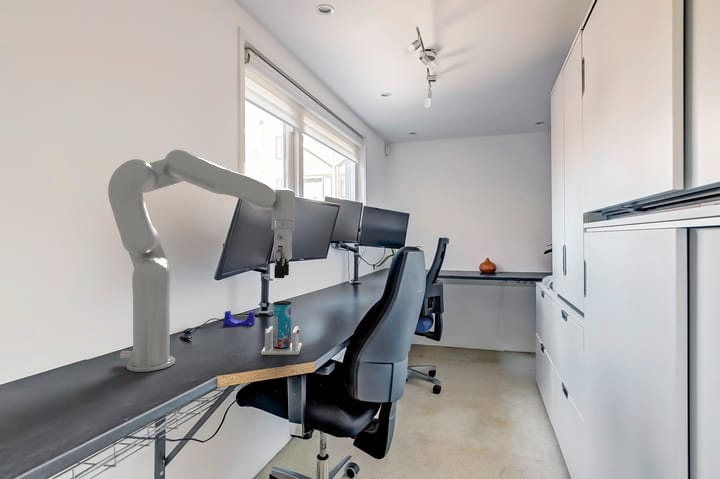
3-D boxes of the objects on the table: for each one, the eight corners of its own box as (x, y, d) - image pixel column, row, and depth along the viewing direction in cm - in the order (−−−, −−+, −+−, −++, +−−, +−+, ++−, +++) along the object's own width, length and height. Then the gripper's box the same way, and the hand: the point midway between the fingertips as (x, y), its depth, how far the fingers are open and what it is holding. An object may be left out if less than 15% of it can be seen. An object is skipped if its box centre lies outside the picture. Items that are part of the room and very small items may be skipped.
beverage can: (285, 350, 128) (286, 304, 128) (269, 348, 129) (270, 303, 129) (293, 345, 134) (294, 301, 134) (277, 344, 135) (278, 300, 135)
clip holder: (261, 354, 127) (261, 332, 127) (267, 345, 137) (267, 325, 137) (298, 354, 127) (298, 332, 127) (301, 345, 137) (301, 325, 137)
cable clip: (223, 326, 166) (223, 312, 166) (227, 324, 170) (227, 310, 170) (251, 327, 166) (251, 313, 166) (254, 324, 170) (254, 311, 170)
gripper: (290, 225, 123) (289, 279, 123) (297, 227, 140) (296, 274, 140) (266, 224, 123) (265, 279, 123) (276, 226, 140) (275, 274, 140)
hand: (281, 276), depth 132 cm, fingers open, 9 cm apart
